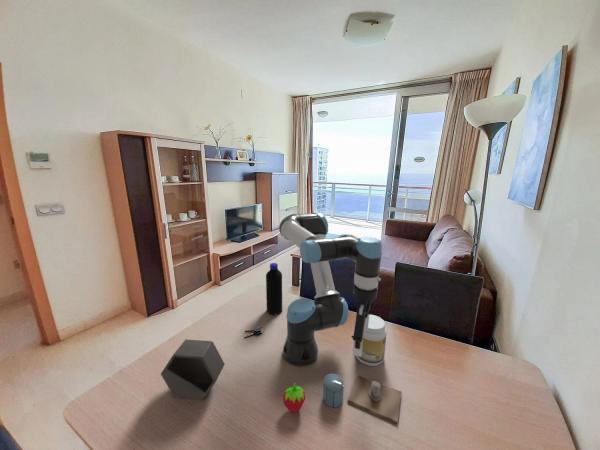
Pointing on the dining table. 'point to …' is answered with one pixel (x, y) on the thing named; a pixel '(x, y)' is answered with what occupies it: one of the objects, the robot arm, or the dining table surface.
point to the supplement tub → (373, 342)
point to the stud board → (375, 398)
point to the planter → (193, 369)
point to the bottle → (274, 290)
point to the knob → (333, 390)
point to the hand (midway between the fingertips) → (360, 341)
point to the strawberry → (294, 398)
